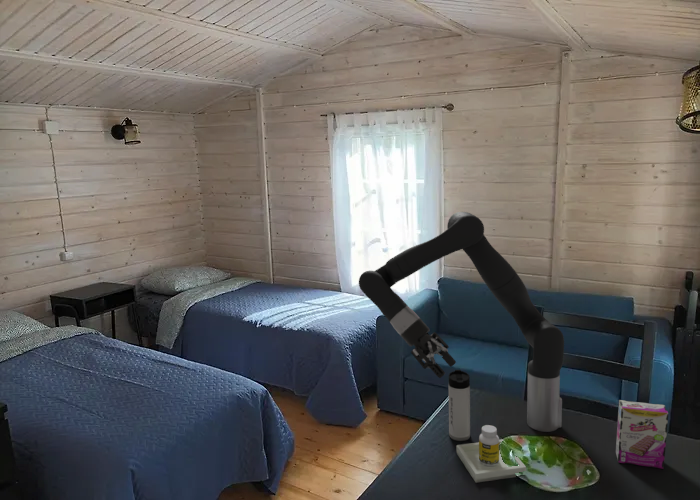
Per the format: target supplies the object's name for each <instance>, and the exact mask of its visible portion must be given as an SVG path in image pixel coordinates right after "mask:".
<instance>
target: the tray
mask: <svg viewBox="0 0 700 500" xmlns="http://www.w3.org/2000/svg"><path fill="white" fill-rule="evenodd" d="M503 440H504V439H502V438H499V445H500V443H501V442H502V441H503ZM456 455H457V456H458V458H459V459H460V461H461V463H462V464H463V465H464V467H465V469H466V470H467V471H468V473H469V475H470V476H471V477H472V479H473V481H474V483H476V484H477V483H482V482H483V483H484V482H489V481H491V482H492V481H496V480H504V479H512V478H517V477H516V475H515V473H519V472H523V471H526V472H527V466H526V465H525V464H524V463H523V461H522V460H521V459H520V458H519V457H518V456H517V455H516V456H517V457H516V456H515V460H516V462H517V463H518V465H519V466H512V467H507V466H506V464H505V463H504V462H503V460H502V457H501V454H500V450H499V463H498V464H497V465H495V466H486V465H483V464H482V463H481V462H480V461H479V441H478V442H472V443H462V444H457V445H456Z"/></svg>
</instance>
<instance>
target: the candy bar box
mask: <svg viewBox="0 0 700 500" xmlns="http://www.w3.org/2000/svg"><path fill="white" fill-rule="evenodd" d="M668 421H669V412H668V410H667V408H666V405H665V404H659V403H649V402H638V401H631V400H622V399H619V400H618V412H617V429H616V444H615V455H616V458H617V462H618V463H621V464H627V465H633V466H634V465H635V466H642V467H647V468H656V469H663V470H664V467H665V457H666V445H667V433H668Z"/></svg>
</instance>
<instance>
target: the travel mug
mask: <svg viewBox="0 0 700 500" xmlns="http://www.w3.org/2000/svg"><path fill="white" fill-rule="evenodd" d="M470 379H471V378H470V375H469V373H467V371H466V372H465V371H462V370H461V369H454V371H451V372H449V374H448V436H449V437H450V438H451V440H454V441H457V442H464V441H467V440H469V439H470V438H471V385H470V384H471V383H470V381H471V380H470Z"/></svg>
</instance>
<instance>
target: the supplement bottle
mask: <svg viewBox="0 0 700 500" xmlns="http://www.w3.org/2000/svg"><path fill="white" fill-rule="evenodd" d="M499 440H500V437H499V435H498V430H497V427H496V426H494V425H491V424H490V425H489V424H485V425H483V426H482V427H481V433H480V434H479V437H478V442H479V461H480V462H481V463H482V464H483V465H486V466H495V465H497V464H498V463H499Z"/></svg>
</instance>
